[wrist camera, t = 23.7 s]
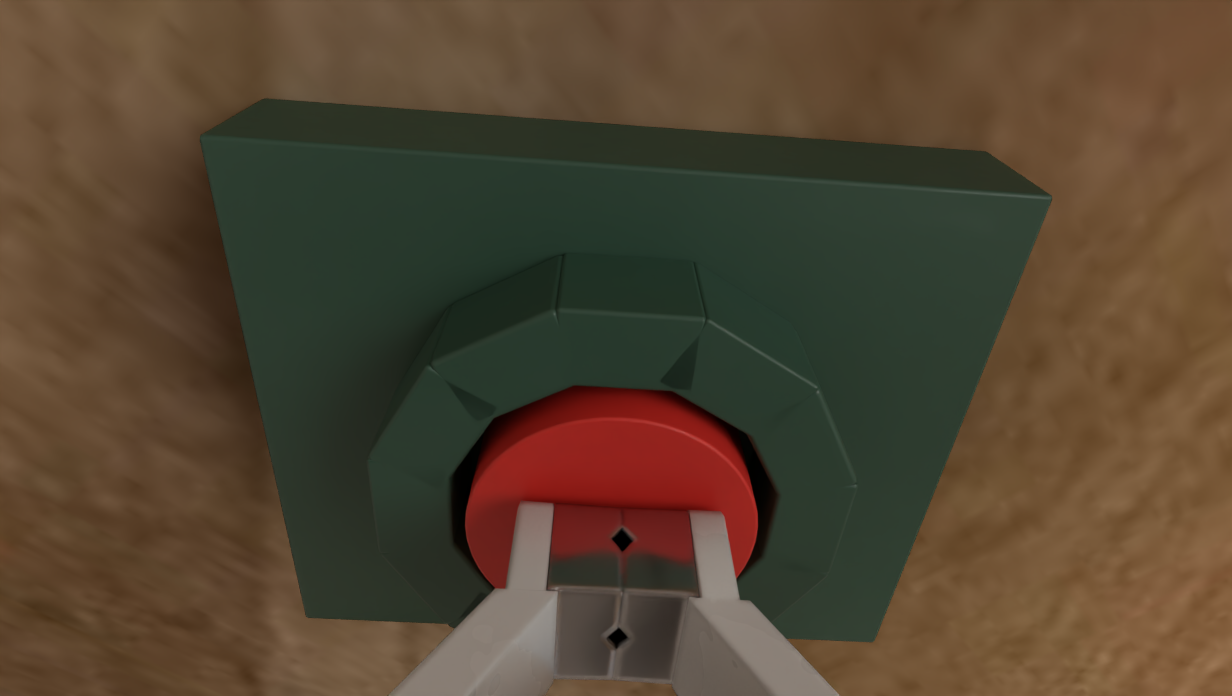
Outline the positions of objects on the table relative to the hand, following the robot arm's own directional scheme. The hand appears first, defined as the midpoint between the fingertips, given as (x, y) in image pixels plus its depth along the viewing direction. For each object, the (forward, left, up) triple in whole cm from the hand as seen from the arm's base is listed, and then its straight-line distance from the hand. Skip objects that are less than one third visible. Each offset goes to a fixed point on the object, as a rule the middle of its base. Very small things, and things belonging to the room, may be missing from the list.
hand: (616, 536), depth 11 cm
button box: (0, 0, -4) cm, 4 cm away
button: (0, 0, -2) cm, 2 cm away
